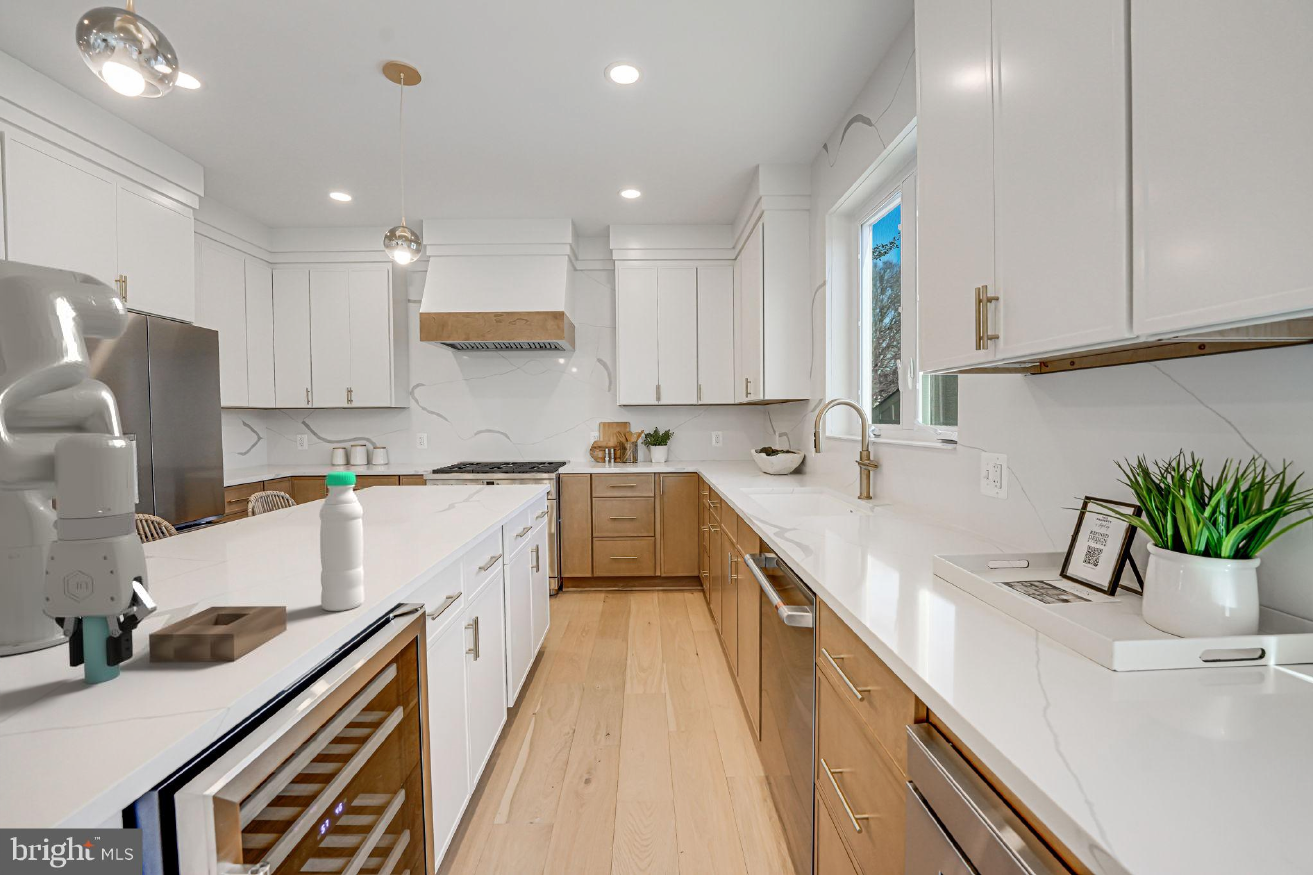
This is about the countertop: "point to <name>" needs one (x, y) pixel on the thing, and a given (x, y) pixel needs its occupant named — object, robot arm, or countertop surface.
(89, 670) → the dowel
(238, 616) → the socket block
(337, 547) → the water bottle
